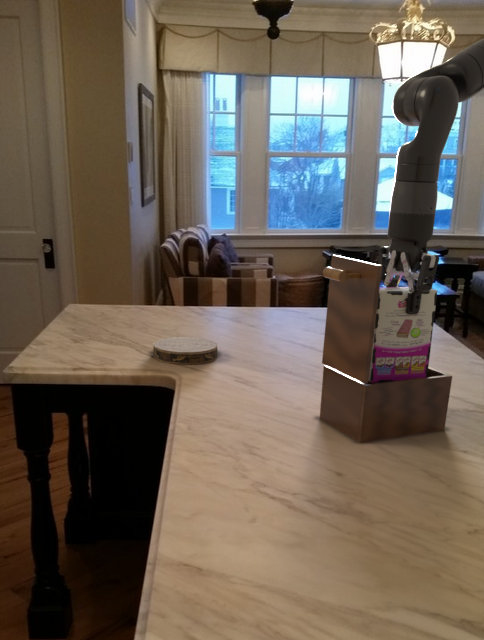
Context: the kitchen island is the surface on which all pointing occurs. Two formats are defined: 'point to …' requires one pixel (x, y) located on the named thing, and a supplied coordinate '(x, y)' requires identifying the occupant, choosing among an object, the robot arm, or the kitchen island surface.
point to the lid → (351, 316)
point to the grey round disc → (185, 350)
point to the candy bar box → (401, 336)
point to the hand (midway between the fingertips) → (401, 310)
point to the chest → (384, 405)
